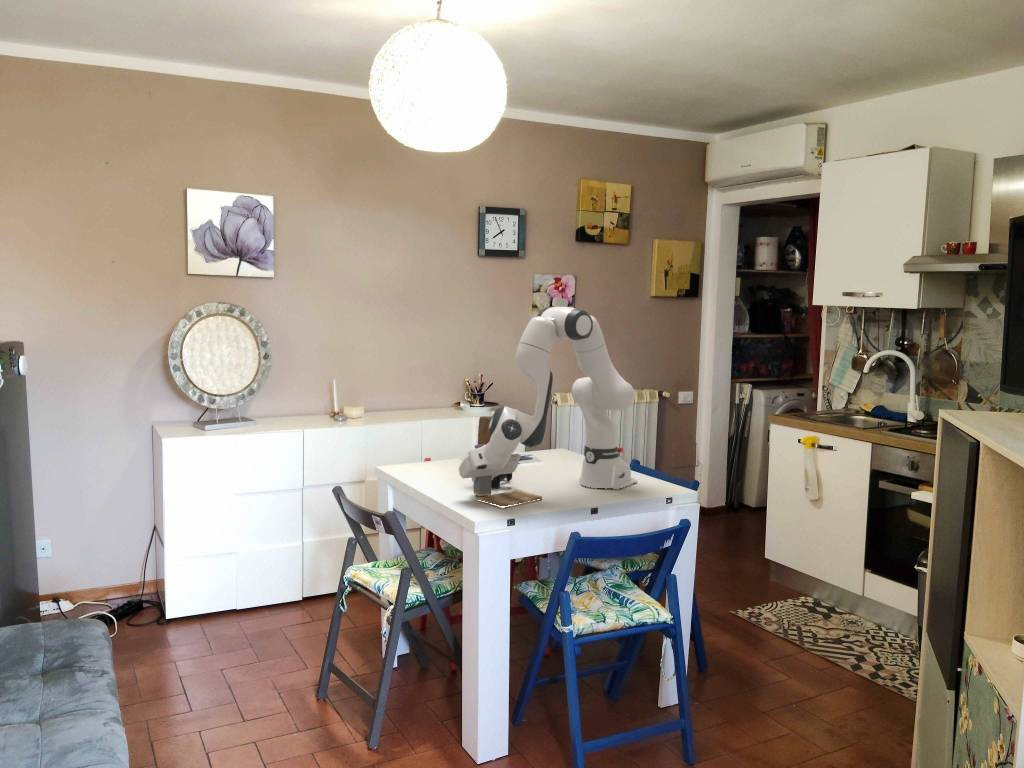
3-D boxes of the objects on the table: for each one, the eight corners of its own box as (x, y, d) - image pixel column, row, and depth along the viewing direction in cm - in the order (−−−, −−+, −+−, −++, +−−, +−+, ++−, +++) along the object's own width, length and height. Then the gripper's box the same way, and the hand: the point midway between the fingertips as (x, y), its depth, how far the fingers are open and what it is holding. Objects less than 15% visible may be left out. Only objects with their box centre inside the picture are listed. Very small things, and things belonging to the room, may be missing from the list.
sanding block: (485, 491, 282) (485, 466, 281) (491, 494, 278) (491, 468, 277) (473, 493, 280) (473, 467, 279) (479, 496, 276) (479, 469, 275)
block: (475, 465, 329) (476, 415, 326) (491, 463, 333) (492, 414, 331) (490, 470, 320) (491, 419, 318) (506, 468, 324) (507, 418, 322)
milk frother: (475, 490, 287) (476, 448, 286) (469, 479, 303) (470, 440, 301) (515, 489, 290) (516, 447, 288) (507, 479, 305) (508, 439, 304)
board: (517, 493, 284) (517, 489, 284) (542, 499, 275) (542, 496, 275) (478, 501, 272) (478, 497, 271) (502, 508, 263) (502, 505, 263)
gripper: (519, 446, 276) (505, 468, 286) (464, 451, 267) (452, 474, 276) (526, 461, 273) (511, 484, 283) (470, 467, 263) (457, 490, 273)
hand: (481, 479), depth 279 cm, fingers closed on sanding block, 4 cm apart
